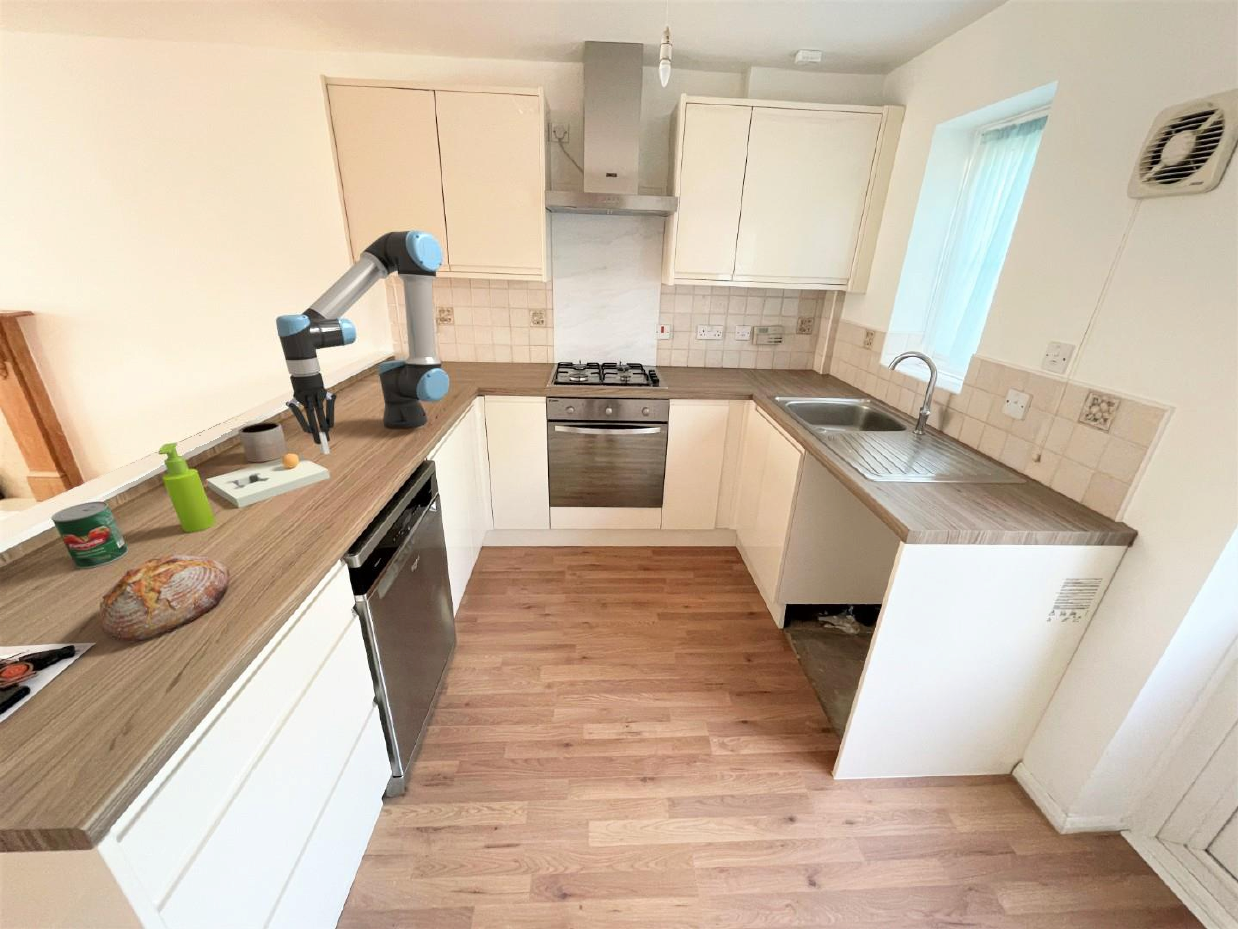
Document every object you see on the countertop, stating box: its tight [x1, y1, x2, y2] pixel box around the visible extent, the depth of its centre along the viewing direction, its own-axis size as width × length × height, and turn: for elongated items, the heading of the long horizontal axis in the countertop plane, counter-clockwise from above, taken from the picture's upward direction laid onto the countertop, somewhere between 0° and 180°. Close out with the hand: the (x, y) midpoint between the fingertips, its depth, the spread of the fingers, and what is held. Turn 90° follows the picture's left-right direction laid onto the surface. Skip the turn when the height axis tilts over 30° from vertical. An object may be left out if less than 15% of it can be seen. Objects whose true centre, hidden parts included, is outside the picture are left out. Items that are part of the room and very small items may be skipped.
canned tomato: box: [50, 501, 129, 570], centre depth 99 cm, size 8×8×11 cm
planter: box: [237, 421, 290, 464], centre depth 151 cm, size 11×11×10 cm
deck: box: [205, 454, 331, 509], centre depth 134 cm, size 22×20×2 cm
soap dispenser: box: [157, 442, 217, 533], centre depth 109 cm, size 6×7×20 cm
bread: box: [99, 553, 230, 643], centre depth 85 cm, size 16×20×10 cm
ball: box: [282, 453, 299, 468], centre depth 137 cm, size 4×4×4 cm
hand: (325, 452), depth 145 cm, fingers closed
